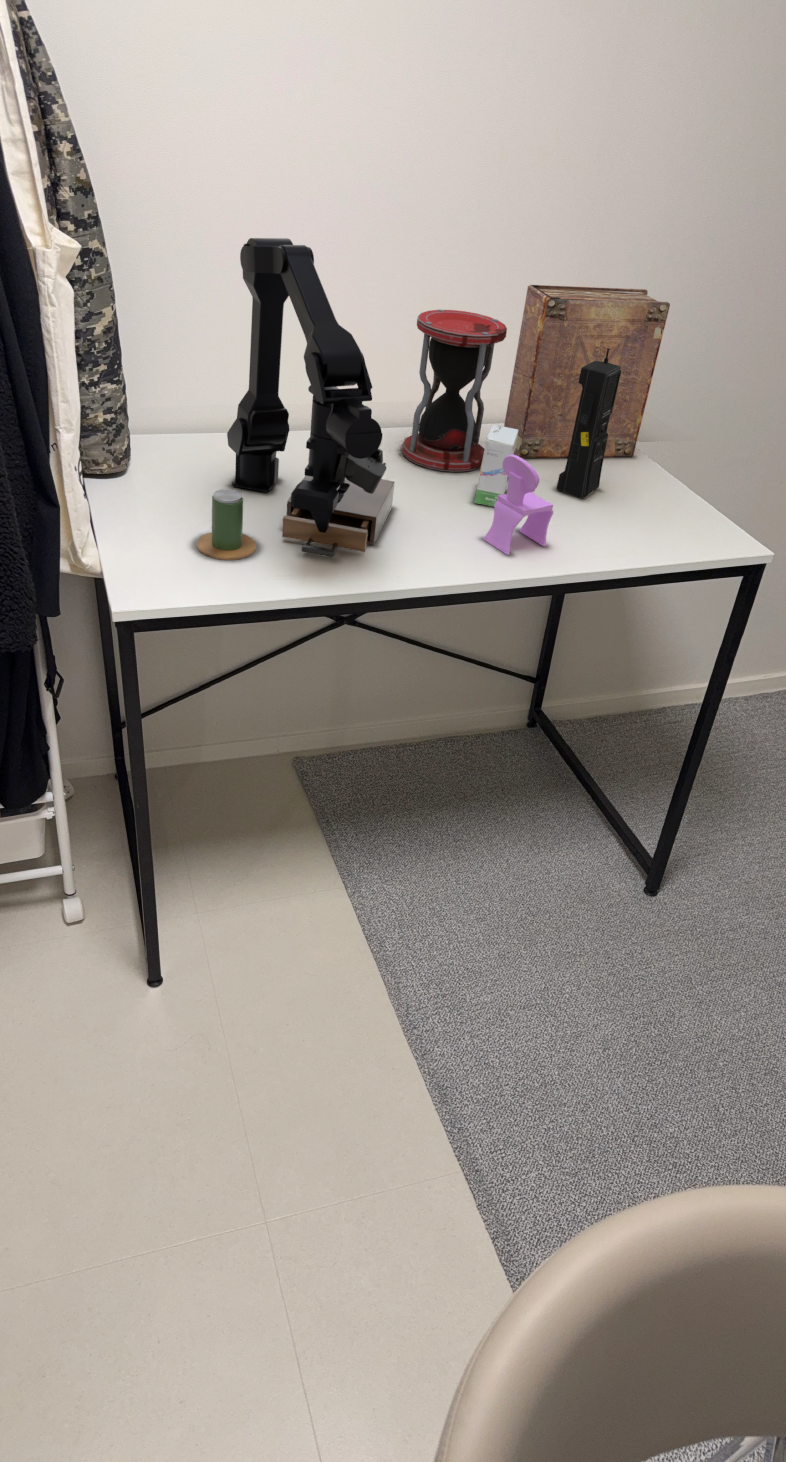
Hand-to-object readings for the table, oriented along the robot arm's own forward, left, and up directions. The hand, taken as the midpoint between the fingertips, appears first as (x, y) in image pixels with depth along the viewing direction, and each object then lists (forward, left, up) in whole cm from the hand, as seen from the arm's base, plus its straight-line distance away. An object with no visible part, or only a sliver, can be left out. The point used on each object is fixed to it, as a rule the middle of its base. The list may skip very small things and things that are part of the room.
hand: (322, 531), depth 160 cm
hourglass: (+12, +49, -4) cm, 50 cm away
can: (-14, -4, -3) cm, 15 cm away
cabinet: (0, +13, -3) cm, 13 cm away
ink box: (+23, +33, -4) cm, 40 cm away
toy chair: (+29, +16, -4) cm, 33 cm away
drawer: (0, +6, -3) cm, 7 cm away
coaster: (-14, -4, -3) cm, 15 cm away
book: (+35, +64, -4) cm, 73 cm away
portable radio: (+38, +43, -4) cm, 57 cm away
